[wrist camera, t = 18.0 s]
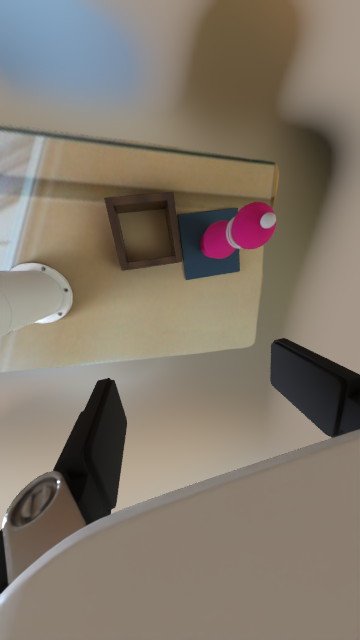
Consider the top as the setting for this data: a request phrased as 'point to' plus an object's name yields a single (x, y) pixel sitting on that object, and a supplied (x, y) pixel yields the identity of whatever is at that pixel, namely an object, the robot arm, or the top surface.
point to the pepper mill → (239, 231)
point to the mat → (193, 256)
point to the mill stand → (142, 204)
